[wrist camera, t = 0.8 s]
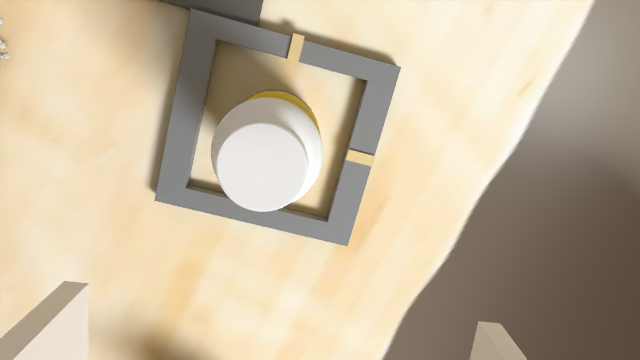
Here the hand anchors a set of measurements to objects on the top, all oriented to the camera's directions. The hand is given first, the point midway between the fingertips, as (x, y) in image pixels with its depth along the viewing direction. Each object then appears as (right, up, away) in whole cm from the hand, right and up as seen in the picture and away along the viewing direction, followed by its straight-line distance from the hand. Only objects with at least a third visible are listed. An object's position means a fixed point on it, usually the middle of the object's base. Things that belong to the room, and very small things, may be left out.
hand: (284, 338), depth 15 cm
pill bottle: (-2, +9, +19) cm, 21 cm away
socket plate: (-2, +9, +19) cm, 21 cm away
